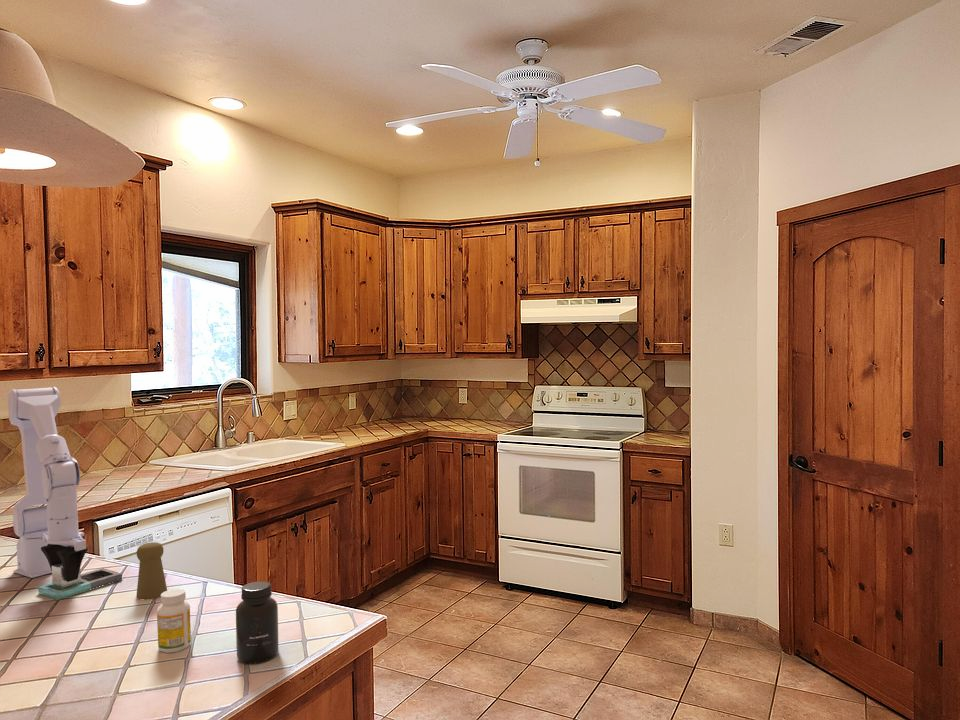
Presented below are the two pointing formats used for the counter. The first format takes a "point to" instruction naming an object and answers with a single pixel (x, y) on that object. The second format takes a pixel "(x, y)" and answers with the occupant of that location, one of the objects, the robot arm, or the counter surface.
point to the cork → (150, 571)
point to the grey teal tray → (82, 584)
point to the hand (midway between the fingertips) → (65, 578)
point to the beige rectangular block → (62, 578)
